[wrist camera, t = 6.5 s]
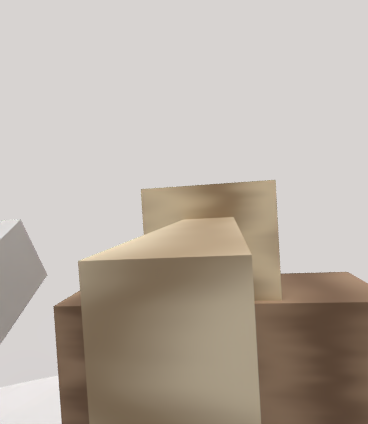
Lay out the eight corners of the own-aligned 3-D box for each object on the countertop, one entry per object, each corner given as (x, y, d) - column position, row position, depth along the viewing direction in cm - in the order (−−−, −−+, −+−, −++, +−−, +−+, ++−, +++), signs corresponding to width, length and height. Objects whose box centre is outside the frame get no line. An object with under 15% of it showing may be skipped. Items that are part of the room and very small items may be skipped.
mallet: (-27, 524, 6) (-55, 158, 6) (171, 272, 27) (166, 193, 26) (434, 571, 5) (415, 114, 4) (264, 269, 25) (260, 187, 25)
